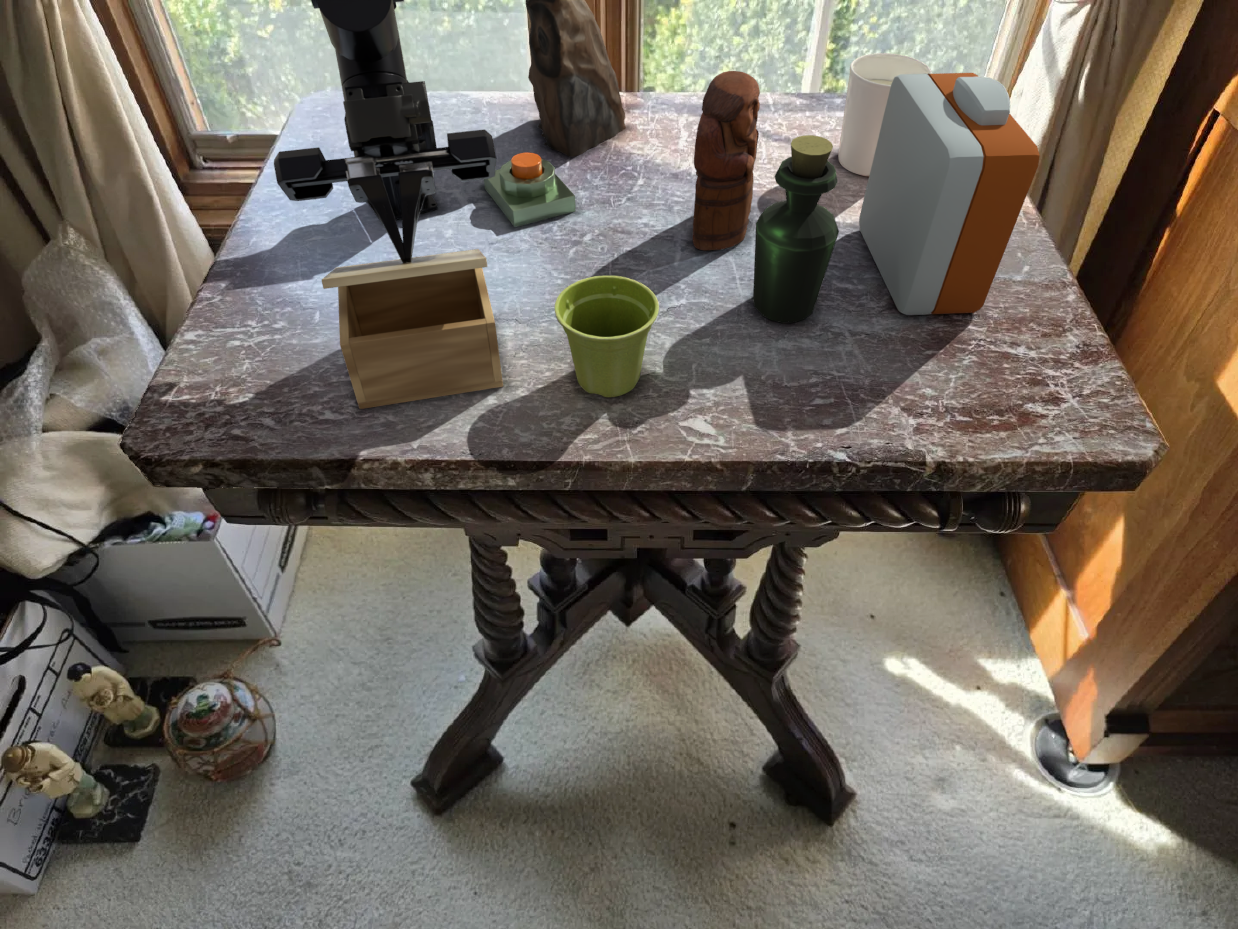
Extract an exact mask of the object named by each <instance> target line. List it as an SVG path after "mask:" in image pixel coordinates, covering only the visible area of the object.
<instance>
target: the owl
mask: <svg viewBox="0 0 1238 929" xmlns="http://www.w3.org/2000/svg"><path fill="white" fill-rule="evenodd" d="M525 8H526V11H527V13H528V17H529V21H530V28H529V37H528V45H529V50H530V57H531V59H530V60H531V61H530V62H531V63H530V66H529V69H528V75H527V78H528V80H529V82H530V84H531V85H532V87H533V99H534V103H535V105H536V109H537V111H538V117H539V120H540V123H538V126H537V127H538V129H539V130H541V131H542V133H541V134H540V136H541V137H542V138H544V140H545V142H544V143H543V145H544V146H546V147H548V149H550V150H552V151H556V152H560V153H561V154H564V155H566V156H567V157H568V158H574V157H575V158H576V157H578V156H582V155H583V154H586V153H587V151H589V150H590V149H593V148H596V147H598V145H599V144H602V143H603V142H605V141H608V140H611V139H613V138H615V137H616V136H617V135H618V134H619V133H621V132H623V131H624V130H626V129H627V127H626V122H625V119H626V112H625V110H624V107H623V102H622V97H621V93H620V88H619V81H618V78H617V74H616V72H615V70H614V68H613V67H612V63H611V61H610V58H609V54H608V51H607V48H606V45H605V42H604V38H603V35H602V32H601V28H600V25H599V24H598V22H597V20H596V18H595V14H594V13H593V11H592V10H591V8H590V6H589V5H588V3H587V1H586V0H525Z"/></svg>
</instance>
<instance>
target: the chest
mask: <svg viewBox="0 0 1238 929" xmlns="http://www.w3.org/2000/svg"><path fill="white" fill-rule="evenodd" d="M337 294H338V295H337V298H338V299H337V300H338V328H339V329H338V330H339V331H338V332H339V348H340V349H341V353H342V356H343V360H344V363H345V366H346V370H347V373H348V376H349V380H350V384H351V386H352V389H353V392H354V396H355V399H356V402H357V406H358V408H359V410H363V409H364V410H365V409H370V408H371V409H372V408H377V407H382V406H383V407H384V406H390V405H395V404H402V403H409V402H414V401H421V400H428V399H434V398H440V397H445V396H446V397H447V396H452V395H459V394H465V393H472V392H478V391H484V390H491V389H496V388H497V389H498V388H503V387H504V381H503V380H504V379H503V373H502V366H501V358H500V351H499V343H498V342H499V341H498V335H497V326H496V320H495V315H494V313H493V312H494V311H493V308H492V304H491V300H490V296H489V291H488V287H487V282H486V278H485V273H484V270H483V268H477V269H469V270H462V271H454V272H447V273H439V274H432V275H424V276H417V277H410V278H402V279H395V280H387V281H380V282H372V283H365V284H357V285H350V286H342V287H337Z"/></svg>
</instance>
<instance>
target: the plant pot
mask: <svg viewBox="0 0 1238 929" xmlns="http://www.w3.org/2000/svg"><path fill="white" fill-rule="evenodd" d="M659 310H660V303H659V300H658V297H657V296H656V294H655V293H654V292H653V290H651V289H650V288H649V287H648V286H647V285H645V284H643V283H642V282H639V281H637V280H635V279H632V278H629V277H626V276H620V275H595V276H590V277H587V278H582V279H579V280H577V281H575V282H574V283H571V284H570V285H567V286H566V287H565V288H564V289H563V290H562V291H561V292H560V293H559V294H558V296H557V298H556V300H555V302H554V315H555V318H556V320H557V322H558V323H559V325H560V326H561V327H562V329H563V331H564V334H565V335H566V337H567V341H568V346H569V350H570V354H571V357H572V362H573V368H574V372H575V376H576V380H577V383H578V385H579V386H580V387H581V388H582V390H584V391H585V392H586V393H588V394H596V395H599V396H601V397H604V398H615V397H619V396H622V395H625V394H627V393H629V392H631V391H632V390H634V388H635V387H636V386H637V383H638V382H639V380H640V377H641V371H642V366H643V361H644V356H645V350H646V345H647V340H648V335H649V333H650V331H651V329H652V327H653V324H655V321H656V320H657V318H658V315H659Z"/></svg>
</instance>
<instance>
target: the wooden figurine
mask: <svg viewBox="0 0 1238 929" xmlns="http://www.w3.org/2000/svg"><path fill="white" fill-rule="evenodd" d="M760 93H761V90H760V85H759V83H758V81H757V80H756V79H755V77H753V76H752V75H750V74H748V73H747V72H745V71H740V70H727V71H723V72H721V73H719V74H717V75H715V77H713V79H712V80H711V81H710V83H709V84H708V87H707V89H706V92H705V94H704V96H703V99H702V104H701V111H702V113H701V115H700V118H699V121H698V124H697V128H696V135H695V136H696V137H695V142H694V152H693V153H694V154H693V167H694V170H695V176H696V180H695V188H694V189H695V191H694V207H693V222H692V243H693V246H694V248H695V249H697V250H699V251H721V250H725V249H728V248H733V247H734V246H737V245H738V244H740V243H742V242H743V241H744V240H745V237H746V234H747V230H748V226H749V223H750V219H749V217H750V214H751V212H752V204H753V203H752V202H753V198H754V197H753V196H754V167H755V163H756V160H757V151H758V142H759V135H760V134H759V130H758V129H757V124H758V118H759V112H760V108H761V106H760V105H761V104H760V100H759V99H760V98H759V96H760Z"/></svg>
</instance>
